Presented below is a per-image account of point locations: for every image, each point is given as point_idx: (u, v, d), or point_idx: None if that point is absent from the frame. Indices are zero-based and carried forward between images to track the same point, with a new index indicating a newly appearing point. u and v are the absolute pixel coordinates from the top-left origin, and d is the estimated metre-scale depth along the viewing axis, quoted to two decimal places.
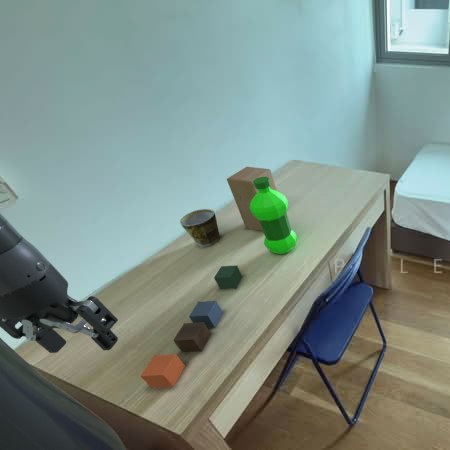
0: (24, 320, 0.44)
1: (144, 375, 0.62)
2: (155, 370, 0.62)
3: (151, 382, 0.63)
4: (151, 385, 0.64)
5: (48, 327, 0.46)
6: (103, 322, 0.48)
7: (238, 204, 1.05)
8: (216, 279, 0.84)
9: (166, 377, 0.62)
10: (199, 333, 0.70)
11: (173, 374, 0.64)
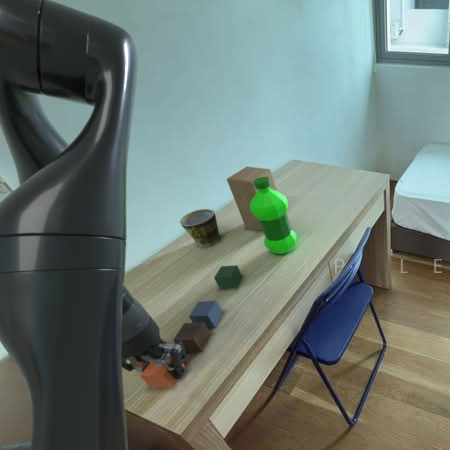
0: None
1: (144, 375, 0.62)
2: (155, 370, 0.62)
3: (151, 382, 0.63)
4: (151, 385, 0.64)
5: None
6: None
7: (238, 204, 1.05)
8: (216, 279, 0.84)
9: (166, 378, 0.62)
10: (199, 333, 0.70)
11: None
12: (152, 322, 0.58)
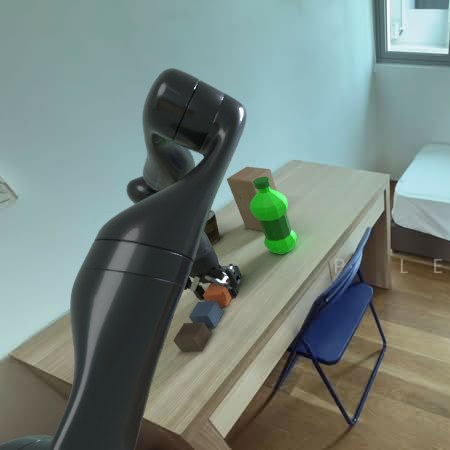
0: None
1: (206, 294, 0.79)
2: (214, 291, 0.80)
3: None
4: None
5: None
6: (188, 284, 0.79)
7: (238, 204, 1.05)
8: None
9: (222, 297, 0.80)
10: (199, 333, 0.70)
11: (227, 296, 0.82)
12: (213, 250, 0.75)
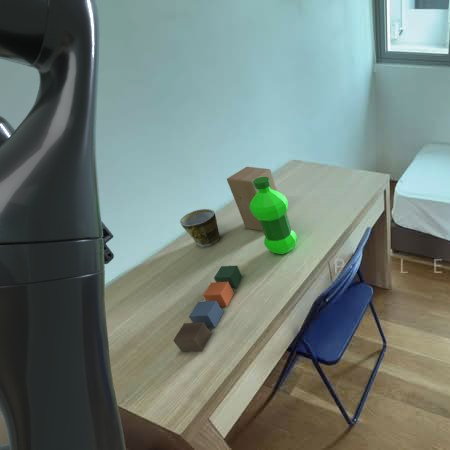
0: None
1: (206, 294, 0.79)
2: (214, 291, 0.80)
3: None
4: None
5: None
6: None
7: (238, 204, 1.05)
8: (216, 279, 0.84)
9: (222, 297, 0.80)
10: (199, 333, 0.70)
11: (227, 296, 0.82)
12: None
